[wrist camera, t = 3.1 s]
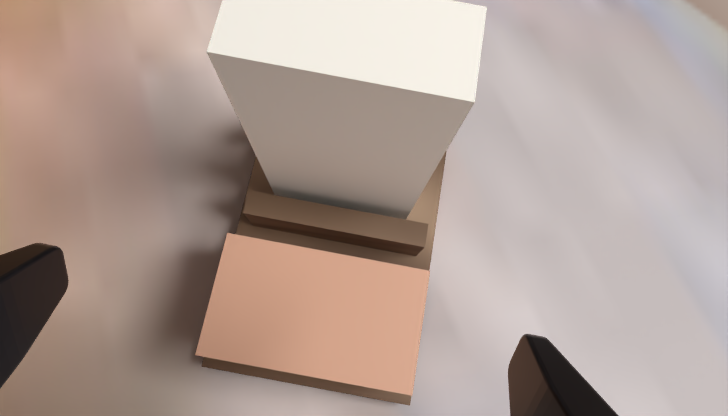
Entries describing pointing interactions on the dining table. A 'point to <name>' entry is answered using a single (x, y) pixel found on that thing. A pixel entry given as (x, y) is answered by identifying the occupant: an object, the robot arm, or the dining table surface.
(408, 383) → the offcut top
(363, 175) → the tall white pillar
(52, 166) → the dining table surface
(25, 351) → the robot arm
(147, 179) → the dining table surface
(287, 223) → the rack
